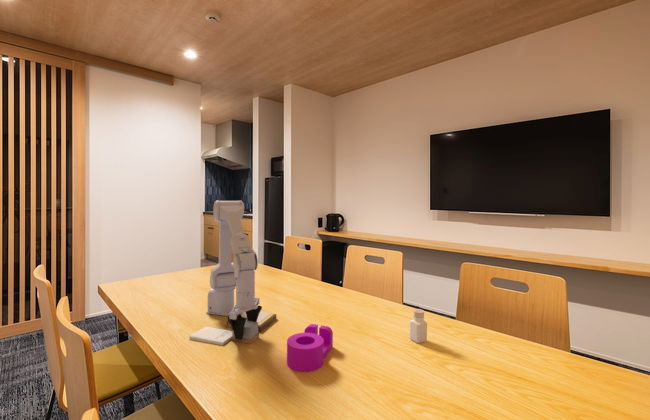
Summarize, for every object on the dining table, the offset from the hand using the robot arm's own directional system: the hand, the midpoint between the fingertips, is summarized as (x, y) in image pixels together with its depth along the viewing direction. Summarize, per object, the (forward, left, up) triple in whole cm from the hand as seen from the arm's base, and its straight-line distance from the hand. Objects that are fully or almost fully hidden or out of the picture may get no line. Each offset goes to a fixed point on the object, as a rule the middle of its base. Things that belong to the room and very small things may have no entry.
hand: (245, 333), depth 101 cm
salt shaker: (+52, +16, -2) cm, 54 cm away
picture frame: (-5, +12, -2) cm, 13 cm away
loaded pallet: (0, 0, -2) cm, 2 cm away
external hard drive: (-10, -2, -2) cm, 11 cm away
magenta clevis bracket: (+23, -4, -2) cm, 23 cm away
